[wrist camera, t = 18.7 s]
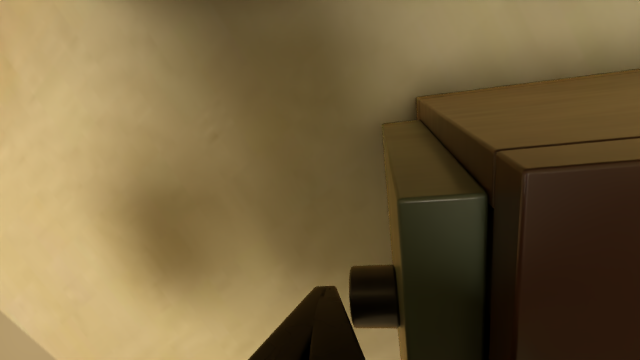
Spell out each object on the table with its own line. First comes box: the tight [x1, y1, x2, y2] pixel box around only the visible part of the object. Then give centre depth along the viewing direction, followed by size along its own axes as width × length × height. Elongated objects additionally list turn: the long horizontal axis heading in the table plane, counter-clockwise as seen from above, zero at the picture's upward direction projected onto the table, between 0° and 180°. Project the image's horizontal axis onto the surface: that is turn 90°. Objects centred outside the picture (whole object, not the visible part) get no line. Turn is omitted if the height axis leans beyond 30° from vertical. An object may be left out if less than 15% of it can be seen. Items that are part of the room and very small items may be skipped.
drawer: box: [349, 120, 491, 360], centre depth 8 cm, size 12×8×6 cm
